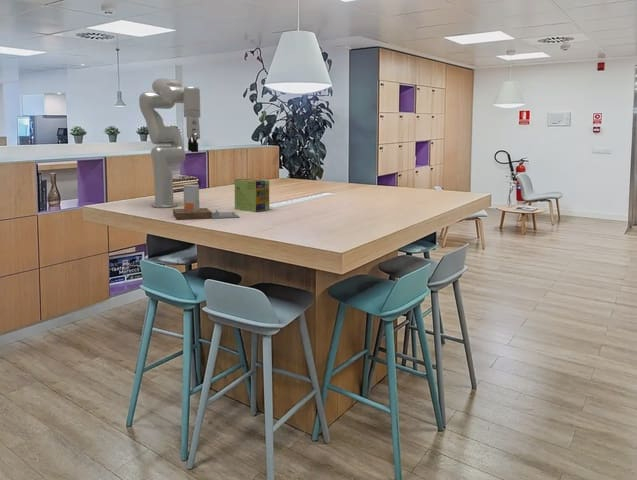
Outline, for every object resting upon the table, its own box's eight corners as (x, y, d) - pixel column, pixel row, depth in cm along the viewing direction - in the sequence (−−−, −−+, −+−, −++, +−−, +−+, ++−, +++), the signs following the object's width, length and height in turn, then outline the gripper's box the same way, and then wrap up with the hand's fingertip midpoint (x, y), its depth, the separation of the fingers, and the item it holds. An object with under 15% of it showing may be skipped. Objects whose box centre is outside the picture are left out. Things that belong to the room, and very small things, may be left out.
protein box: (256, 212, 280) (255, 181, 277) (234, 209, 289) (233, 179, 286) (270, 210, 288) (270, 180, 285) (248, 207, 297) (248, 178, 294)
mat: (206, 213, 273) (206, 212, 273) (232, 212, 277) (232, 211, 277) (212, 218, 258) (212, 218, 258) (239, 217, 262) (239, 216, 262)
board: (173, 215, 266) (172, 209, 265) (206, 213, 272) (206, 207, 271) (176, 219, 253) (176, 213, 253) (211, 218, 259) (211, 212, 258)
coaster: (227, 209, 272) (228, 213, 273) (215, 209, 270) (215, 213, 270) (231, 211, 264) (231, 216, 264) (219, 212, 262) (219, 216, 262)
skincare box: (183, 210, 261) (182, 185, 258) (189, 209, 265) (188, 184, 262) (194, 211, 259) (193, 186, 256) (199, 210, 263) (199, 185, 260)
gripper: (203, 114, 252) (204, 152, 255) (197, 114, 267) (198, 150, 271) (186, 113, 249) (187, 152, 252) (181, 114, 265) (182, 150, 268)
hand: (193, 151), depth 262 cm, fingers open, 9 cm apart
